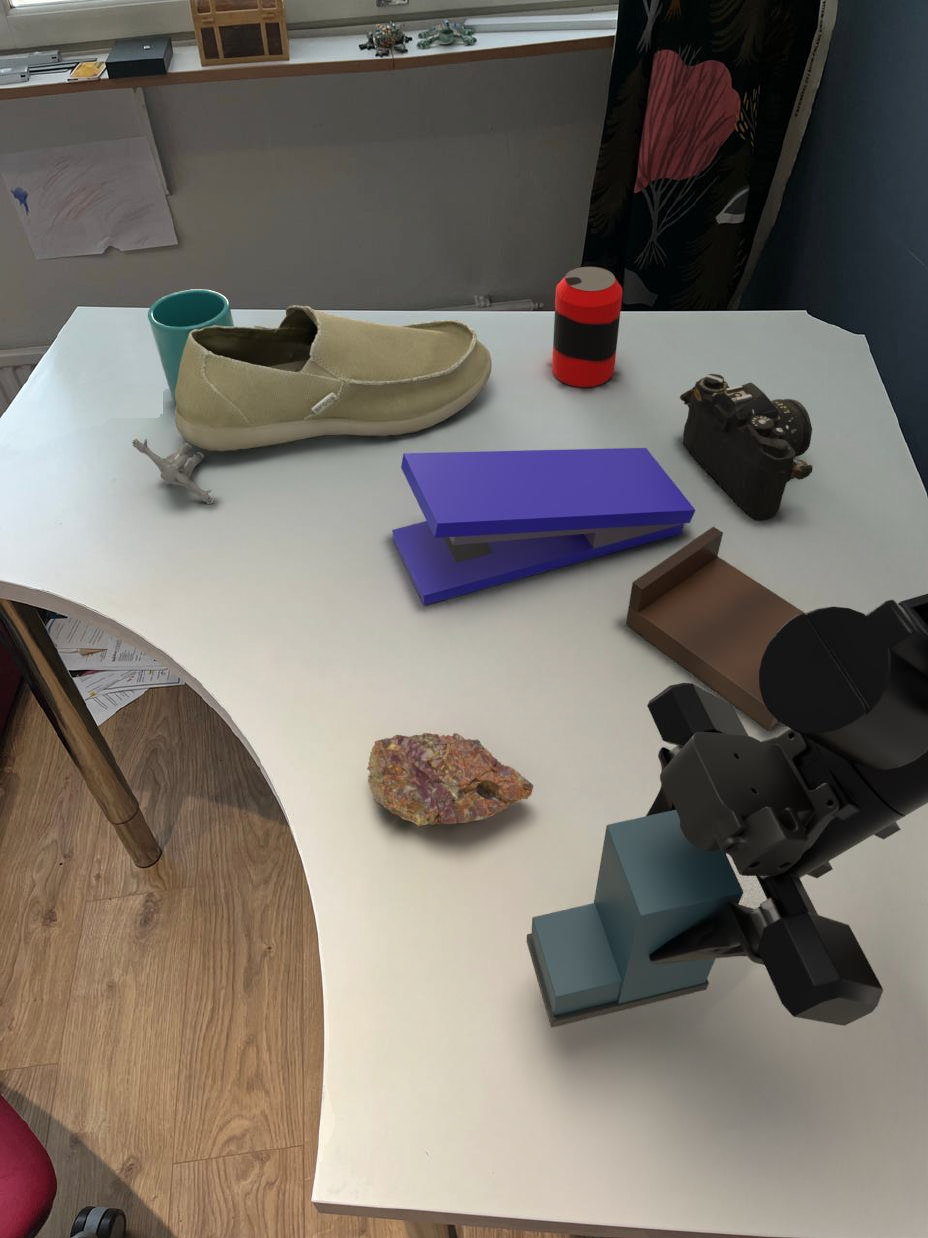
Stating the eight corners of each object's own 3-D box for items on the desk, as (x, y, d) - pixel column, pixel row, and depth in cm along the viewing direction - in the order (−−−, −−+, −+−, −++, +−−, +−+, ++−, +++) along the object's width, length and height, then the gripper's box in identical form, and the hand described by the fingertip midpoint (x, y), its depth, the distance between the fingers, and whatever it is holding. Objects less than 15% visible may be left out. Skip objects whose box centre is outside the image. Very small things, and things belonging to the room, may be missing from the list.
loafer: (511, 413, 108) (516, 313, 99) (193, 485, 99) (166, 382, 89) (467, 354, 117) (467, 257, 108) (172, 415, 107) (145, 314, 98)
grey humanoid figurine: (244, 463, 103) (222, 490, 95) (213, 501, 105) (189, 530, 97) (169, 403, 100) (139, 425, 92) (139, 444, 102) (108, 468, 94)
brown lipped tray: (846, 663, 81) (864, 621, 77) (768, 731, 76) (784, 689, 72) (703, 568, 90) (713, 525, 86) (625, 624, 85) (632, 581, 81)
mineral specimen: (504, 714, 76) (518, 705, 70) (525, 807, 75) (542, 806, 68) (360, 745, 74) (361, 738, 68) (379, 841, 73) (382, 843, 66)
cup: (250, 358, 117) (231, 273, 109) (247, 411, 109) (227, 324, 101) (178, 364, 117) (154, 280, 109) (169, 419, 109) (143, 332, 100)
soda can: (543, 360, 115) (547, 268, 106) (600, 350, 117) (609, 258, 108) (563, 393, 110) (569, 299, 102) (623, 382, 112) (634, 288, 103)
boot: (673, 906, 61) (705, 801, 51) (706, 990, 57) (748, 893, 47) (526, 940, 59) (531, 839, 50) (550, 1028, 56) (561, 936, 46)
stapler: (391, 535, 94) (382, 457, 87) (638, 471, 100) (649, 393, 93) (427, 612, 86) (421, 533, 79) (691, 537, 93) (708, 458, 85)
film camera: (849, 482, 98) (878, 402, 91) (776, 533, 93) (800, 453, 85) (717, 409, 107) (734, 331, 100) (644, 452, 102) (656, 373, 95)
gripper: (706, 578, 48) (499, 744, 54) (899, 913, 35) (600, 1074, 42) (811, 649, 54) (615, 789, 61) (1003, 951, 42) (731, 1085, 49)
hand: (635, 912), depth 53 cm, fingers closed on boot, 5 cm apart
